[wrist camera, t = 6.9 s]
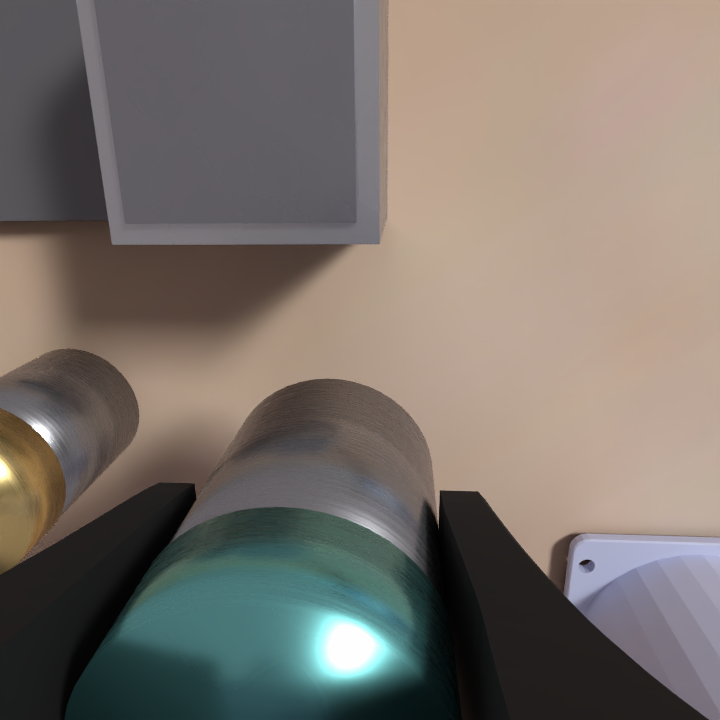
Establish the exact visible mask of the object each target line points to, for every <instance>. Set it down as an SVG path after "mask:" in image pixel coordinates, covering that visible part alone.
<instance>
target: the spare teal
mask: <svg viewBox="0 0 720 720" xmlns="http://www.w3.org/2000/svg"><path fill="white" fill-rule="evenodd" d="M64 720H462V715H461V706H460V696H459V687H458V678H457V668H456V659H455V650H454V641H453V633H452V629H451V624H450V620H449V616H448V614H447V611H446V602H445V591H444V581H443V571H442V561H441V551H440V541H439V531H438V521H437V511H436V500H435V490H434V480H433V470H432V461H431V456H430V452H429V448H428V446H427V443H426V440H425V438H424V436H423V434H422V432H421V430H420V428H419V427H418V426H417V424H416V423H415V421H414V420H413V419H412V417H411V416H410V415H409V414H408V413H407V412H406V411H405V410H404V409H403V408H402V407H401V406H400V405H398V404H397V403H396V402H395V401H393V400H392V399H391V398H389V397H387V396H386V395H384V394H383V393H381V392H379V391H377V390H375V389H373V388H370V387H368V386H365V385H362V384H359V383H356V382H351V381H346V380H339V379H315V380H309V381H303V382H299V383H296V384H293V385H290V386H287V387H285V388H283V389H281V390H279V391H277V392H275V393H273V394H272V395H270V396H269V397H267V398H266V399H264V400H263V401H262V402H261V403H260V404H259V405H258V406H257V407H255V409H254V410H253V411H252V412H251V413H250V415H249V416H248V417H247V419H246V420H245V422H244V424H243V425H242V427H241V428H240V430H239V432H238V433H237V435H236V436H235V438H234V440H233V441H232V443H231V444H230V446H229V448H228V449H227V451H226V453H225V454H224V456H223V457H222V459H221V461H220V462H219V464H218V465H217V467H216V469H215V470H214V472H213V473H212V475H211V477H210V478H209V480H208V482H207V483H206V485H205V486H204V488H203V490H202V491H201V493H200V494H199V496H198V498H197V499H196V501H195V503H194V504H193V506H192V507H191V509H190V511H189V512H188V514H187V515H186V517H185V519H184V520H183V522H182V523H181V525H180V527H179V528H178V530H177V532H176V533H175V535H174V536H173V538H172V540H171V541H170V543H169V544H168V546H167V547H165V548H164V550H163V551H162V552H161V553H160V554H159V555H158V556H157V558H156V559H155V560H154V561H153V562H152V564H151V566H150V567H149V569H148V570H147V572H146V574H145V575H144V577H143V578H142V580H141V581H140V583H139V585H138V586H137V588H136V589H135V591H134V593H133V594H132V596H131V597H130V599H129V600H128V602H127V604H126V605H125V607H124V608H123V610H122V612H121V613H120V615H119V616H118V618H117V619H116V621H115V623H114V624H113V626H112V627H111V629H110V631H109V632H108V634H107V635H106V637H105V638H104V640H103V642H102V643H101V645H100V646H99V648H98V649H97V651H96V653H95V654H94V656H93V657H92V659H91V661H90V662H89V664H88V665H87V667H86V668H85V670H84V672H83V673H82V675H81V677H80V678H79V680H78V681H77V683H76V685H75V686H74V689H73V691H72V694H71V696H70V699H69V701H68V704H67V708H66V714H65V719H64Z"/></svg>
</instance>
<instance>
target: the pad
mask: <svg viewBox="0 0 720 720" xmlns="http://www.w3.org/2000/svg"><path fill="white" fill-rule="evenodd" d="M96 220H108V214H107V207H106V201H105V194H104V187H103V180H102V173H101V167H100V160H99V153H98V146H97V140H96V133H95V126H94V119H93V112H92V106H91V99H90V92H89V85H88V78H87V72H86V65H85V58H84V51H83V44H82V38H81V31H80V24H79V17H78V11H77V4H76V0H0V221H96Z"/></svg>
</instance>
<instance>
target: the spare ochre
mask: <svg viewBox="0 0 720 720" xmlns="http://www.w3.org/2000/svg"><path fill="white" fill-rule="evenodd" d="M138 424H139V409H138V404H137V400H136V397H135V394H134V392H133V390H132V388H131V386H130V385H129V383H128V382H127V380H126V379H125V378H124V376H123V375H122V374H121V373H120V372H119V371H118V370H117V369H116V368H115V367H114V366H112V365H111V364H110V363H109V362H107V361H105V360H104V359H102V358H100V357H98V356H96V355H94V354H92V353H89V352H86V351H81V350H76V349H59V350H54V351H51V352H48V353H45V354H43V355H41V356H39V357H38V358H36V359H34V360H32V361H30V362H28V363H26V364H24V365H22V366H21V367H19V368H17V369H15V370H13V371H11V372H9V373H7V374H5V375H4V376H2V377H0V574H2V573H4V572H6V571H8V570H9V569H11V568H13V567H15V565H16V564H17V563H18V562H19V561H20V560H21V559H22V558H23V557H24V556H25V555H26V554H27V553H28V552H29V551H30V550H31V549H32V548H33V547H34V546H35V545H36V544H37V543H38V542H39V541H40V540H41V539H42V537H43V536H44V535H45V534H46V533H47V532H48V531H49V530H50V529H51V528H52V527H53V526H54V525H55V523H56V522H57V521H58V519H59V517H60V516H61V515H62V514H63V513H64V512H65V511H66V510H67V509H68V508H69V507H70V506H71V505H72V504H73V503H74V502H75V501H76V500H77V499H78V498H79V497H80V495H81V494H82V493H83V492H84V491H85V490H86V489H87V488H88V487H89V486H90V485H91V484H92V483H93V482H94V481H95V480H96V479H97V478H98V477H99V476H100V475H101V474H102V473H103V472H104V471H105V470H106V469H107V468H108V467H109V466H110V465H111V464H112V463H113V462H114V460H115V459H116V458H117V457H118V456H119V455H120V454H121V453H122V452H123V451H124V450H125V449H126V448H127V447H128V446H129V445H130V443H131V442H132V440H133V438H134V437H135V434H136V432H137V428H138Z"/></svg>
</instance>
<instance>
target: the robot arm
mask: <svg viewBox="0 0 720 720" xmlns="http://www.w3.org/2000/svg"><path fill="white" fill-rule="evenodd" d="M195 501H196V492H195V484H191V483H158V484H156V485H154V486H152V487H149V488H148V489H146V490H144V491H142V492H140V493H139V494H137V495H135V496H133V497H132V498H130V499H128V500H127V501H125V502H123V503H122V504H120V505H118V506H117V507H115V508H113V509H112V510H110V511H108V512H107V513H105V514H104V515H102V516H100V517H99V518H97V519H95V520H94V521H92V522H90V523H89V524H87V525H85V526H84V527H82V528H80V529H79V530H77V531H75V532H74V533H72V534H70V535H69V536H67V537H65V538H64V539H62V540H60V541H59V542H57V543H56V544H54V545H52V546H50V547H49V548H47V549H45V550H43V551H42V552H40V553H38V554H36V555H34V556H33V557H31V558H29V559H27V560H25V561H24V562H22V563H20V564H18V565H16V566H15V567H13V568H11V569H9V570H8V571H6V572H4V573H2V574H0V720H64V719H65V714H66V708H67V704H68V701H69V699H70V696H71V694H72V691H73V689H74V686H75V685H76V683H77V681H78V680H79V678H80V677H81V675H82V673H83V672H84V670H85V668H86V667H87V665H88V664H89V662H90V661H91V659H92V657H93V656H94V654H95V653H96V651H97V649H98V648H99V646H100V645H101V643H102V642H103V640H104V638H105V637H106V635H107V634H108V632H109V631H110V629H111V627H112V626H113V624H114V623H115V621H116V619H117V618H118V616H119V615H120V613H121V612H122V610H123V608H124V607H125V605H126V604H127V602H128V600H129V599H130V597H131V596H132V594H133V593H134V591H135V589H136V588H137V586H138V585H139V583H140V581H141V580H142V578H143V577H144V575H145V574H146V572H147V570H148V569H149V567H150V566H151V564H152V562H153V561H154V560H155V559H156V558H157V556H158V555H159V554H160V553H161V552H162V551H163V550H164V548H165V547H167V546H168V544H169V543H170V541H171V540H172V538H173V536H174V535H175V533H176V532H177V530H178V528H179V527H180V525H181V523H182V522H183V520H184V519H185V517H186V515H187V514H188V512H189V511H190V509H191V507H192V506H193V504H194V503H195ZM439 541H440V551H441V561H442V571H443V581H444V591H445V602H446V611H447V614H448V616H449V620H450V624H451V629H452V633H453V641H454V650H455V659H456V668H457V678H458V687H459V696H460V706H461V715H462V720H720V538H718V537H685V536H652V535H620V534H580V535H578V536H576V537H575V538H574V539H573V540H572V541H571V543H570V546H569V554H568V562H567V570H566V578H565V586H564V594H563V593H562V592H561V591H560V590H559V589H558V588H557V587H556V586H555V585H554V584H553V583H552V581H551V580H550V579H549V578H548V577H547V576H546V575H545V574H544V572H543V571H542V570H541V569H540V568H539V567H538V566H537V564H536V563H535V562H534V561H533V560H532V559H531V558H530V556H529V555H528V554H527V553H526V552H525V551H524V549H523V548H522V547H521V546H520V545H519V543H518V542H517V541H516V540H515V538H514V537H513V536H512V535H511V533H510V532H509V531H508V529H507V528H506V527H505V526H504V524H503V523H502V522H501V520H500V519H499V518H498V517H497V515H496V514H495V512H494V511H493V510H492V508H491V507H490V506H489V504H488V503H487V502H486V500H485V499H484V498H483V497H482V496H481V494H480V493H479V492H472V491H440V504H439ZM587 559H588V560H591V561H590V562H589V563H588V564H586V565H579V563H580V562H581V561H583V560H587Z"/></svg>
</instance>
